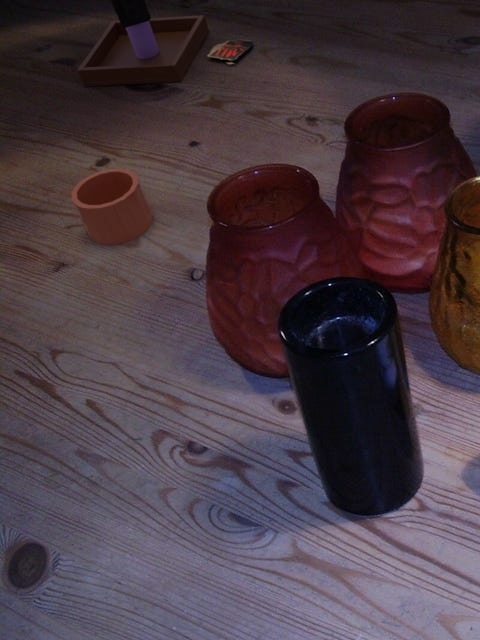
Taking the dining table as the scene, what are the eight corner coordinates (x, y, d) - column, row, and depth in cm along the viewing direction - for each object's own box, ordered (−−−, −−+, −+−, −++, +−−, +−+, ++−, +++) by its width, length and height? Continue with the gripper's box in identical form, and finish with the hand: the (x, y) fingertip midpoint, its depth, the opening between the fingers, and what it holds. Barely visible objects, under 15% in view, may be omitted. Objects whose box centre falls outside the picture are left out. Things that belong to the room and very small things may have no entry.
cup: (81, 250, 89) (61, 209, 85) (104, 209, 93) (85, 169, 89) (143, 248, 88) (125, 207, 85) (163, 207, 92) (146, 167, 89)
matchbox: (256, 41, 112) (255, 37, 112) (240, 65, 109) (239, 61, 109) (218, 41, 113) (216, 37, 113) (201, 65, 110) (199, 61, 110)
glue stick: (132, 60, 112) (99, -27, 105) (140, 48, 114) (108, -39, 106) (155, 59, 111) (123, -29, 104) (163, 46, 113) (131, -40, 106)
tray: (83, 86, 110) (76, 70, 108) (118, 36, 117) (112, 20, 116) (181, 82, 108) (175, 65, 107) (209, 31, 116) (204, 15, 114)
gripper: (17, -175, 101) (88, -2, 114) (37, -128, 90) (112, 58, 103) (91, -193, 102) (152, -20, 116) (119, -149, 92) (183, 36, 105)
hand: (133, 15), depth 109 cm, fingers closed on glue stick, 2 cm apart
